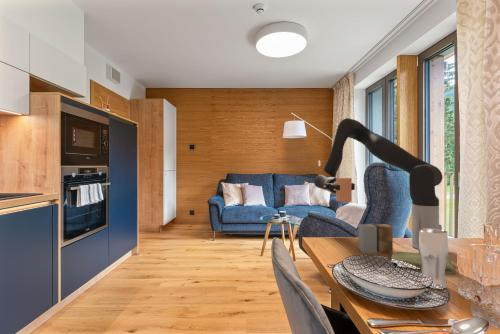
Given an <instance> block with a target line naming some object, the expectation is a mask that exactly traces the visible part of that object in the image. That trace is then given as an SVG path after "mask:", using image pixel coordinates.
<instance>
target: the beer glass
mask: <svg viewBox="0 0 500 334" xmlns="http://www.w3.org/2000/svg"><path fill="white" fill-rule="evenodd" d="M448 237H449V236H448V231H446V230H444V229H442V230H440V229H433V228H421V229H419V236H418V253H419V256H420V261H421V266H422V270H421V275H422V274H423V275H425V276H429V277H431V278H432V279H433V284H441V285H443V286H444V287H446V288H447V287H448V285H447V283H446V277H445V276H446V274H445V267H446V263H447V258H449V238H448Z"/></svg>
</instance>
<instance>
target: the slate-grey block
mask: <svg viewBox="0 0 500 334" xmlns="http://www.w3.org/2000/svg"><path fill="white" fill-rule="evenodd" d="M357 232H358V233H357V234H358V236H357V238H358V240H357V241H358V243H357V244H358V245H357V246H358V249H357V250H358V251H360V252H361V253H362V254H378V252H377V227H376V226H374V225H373V224H371V223H358V225H357Z"/></svg>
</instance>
